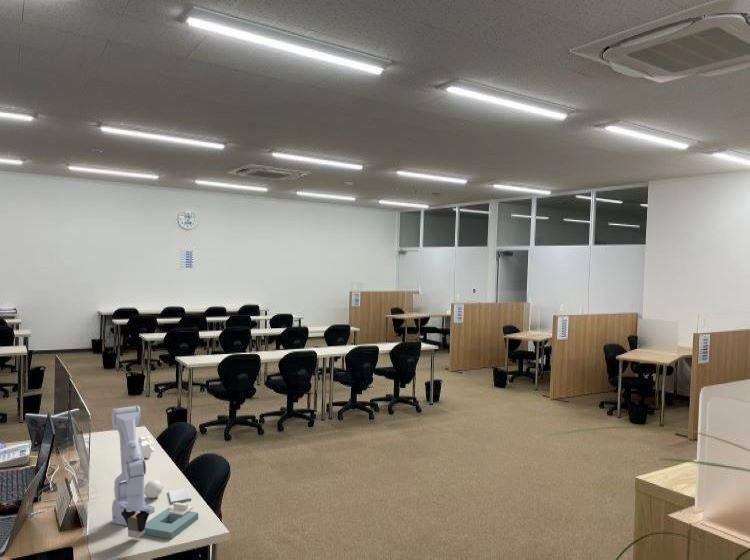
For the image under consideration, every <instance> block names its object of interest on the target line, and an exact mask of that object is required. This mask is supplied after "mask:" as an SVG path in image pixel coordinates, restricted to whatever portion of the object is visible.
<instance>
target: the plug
mask: <svg viewBox="0 0 750 560" xmlns="http://www.w3.org/2000/svg"><path fill="white" fill-rule="evenodd" d="M136 515H137V514H135V515H133V516H131V517H130V518H128V526H127V537H129V538H134V539H139V538H140V537H141V536H142V535H145V534H144V533H145V529H144V530H143V531H142V532H139V530H138V521H137V518H136Z"/></svg>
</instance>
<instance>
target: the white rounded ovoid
mask: <svg viewBox="0 0 750 560" xmlns="http://www.w3.org/2000/svg"><path fill="white" fill-rule="evenodd" d="M163 489H164V487H163V485H162V483H161V481H159V480H156V479H153V480H150V481H148V482H147V483H146V484H144V496H146V497H147V498H149V499H156V498H157V497H159V496H160V495H161V494H162V493H163Z"/></svg>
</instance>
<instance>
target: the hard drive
mask: <svg viewBox="0 0 750 560" xmlns="http://www.w3.org/2000/svg"><path fill="white" fill-rule="evenodd" d="M167 493H168V498H169V503H170V505H174V504H173V503H176V502H177V503H179V502H181V503H186V501H187V502H191V500H192V496H191V493H190V489H189V488H188V487H187V486H186V487H180V488H176V489H169V490H168V491H167Z"/></svg>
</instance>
